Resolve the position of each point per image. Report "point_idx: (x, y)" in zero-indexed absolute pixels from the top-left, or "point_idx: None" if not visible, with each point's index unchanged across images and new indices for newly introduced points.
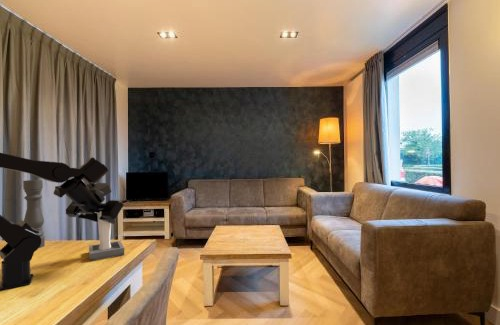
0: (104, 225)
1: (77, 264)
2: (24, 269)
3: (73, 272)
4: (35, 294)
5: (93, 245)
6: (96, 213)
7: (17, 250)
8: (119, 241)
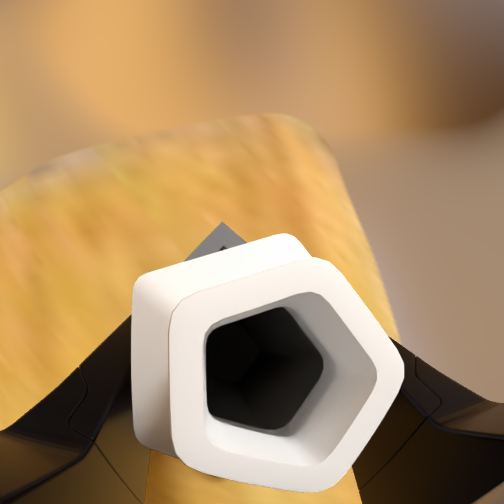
0: (275, 402)
1: (212, 493)
2: None
3: None
4: None
5: None
6: (121, 428)
7: None
8: (230, 237)
